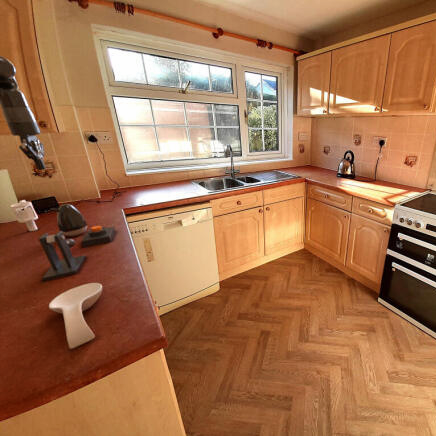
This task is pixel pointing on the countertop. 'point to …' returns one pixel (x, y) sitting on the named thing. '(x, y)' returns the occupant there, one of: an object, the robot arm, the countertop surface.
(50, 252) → the lever bracket
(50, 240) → the lever
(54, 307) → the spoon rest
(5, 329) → the countertop surface
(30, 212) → the white stemmed block
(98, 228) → the power button
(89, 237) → the grey control base
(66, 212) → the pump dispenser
